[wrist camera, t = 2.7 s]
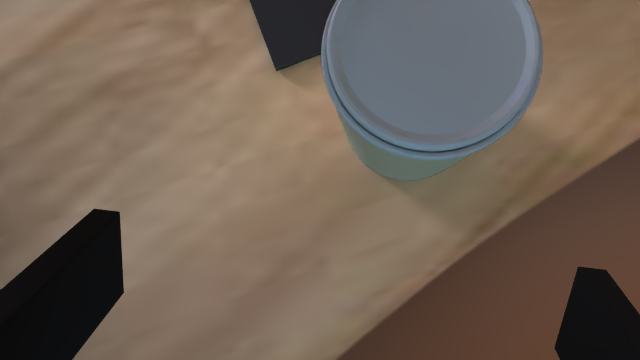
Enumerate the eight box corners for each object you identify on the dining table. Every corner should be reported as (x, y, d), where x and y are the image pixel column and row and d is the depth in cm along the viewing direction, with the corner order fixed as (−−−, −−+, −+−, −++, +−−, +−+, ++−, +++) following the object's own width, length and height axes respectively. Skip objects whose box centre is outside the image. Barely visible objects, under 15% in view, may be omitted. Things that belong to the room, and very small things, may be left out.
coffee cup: (483, 51, 35) (548, -59, 24) (482, 198, 34) (550, 160, 22) (335, 46, 36) (326, -63, 24) (327, 191, 35) (313, 150, 23)
